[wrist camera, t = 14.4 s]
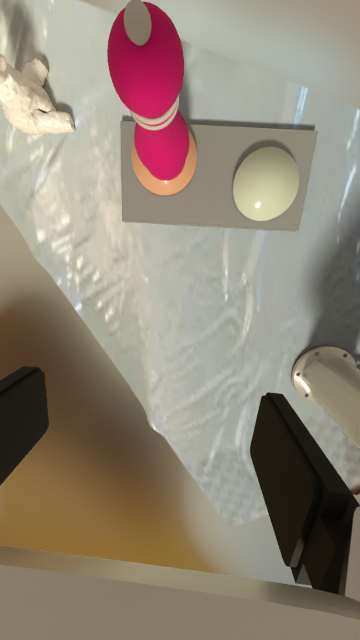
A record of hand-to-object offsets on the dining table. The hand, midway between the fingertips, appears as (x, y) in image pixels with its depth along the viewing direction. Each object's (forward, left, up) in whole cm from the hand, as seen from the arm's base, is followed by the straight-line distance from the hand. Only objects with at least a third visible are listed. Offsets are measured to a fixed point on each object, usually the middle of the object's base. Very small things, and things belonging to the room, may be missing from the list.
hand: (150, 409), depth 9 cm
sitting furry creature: (+23, -27, -33) cm, 49 cm away
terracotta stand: (+3, -21, -32) cm, 38 cm away
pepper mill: (+3, -21, -30) cm, 37 cm away
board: (-5, -19, -33) cm, 38 cm away
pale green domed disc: (-13, -18, -32) cm, 39 cm away
